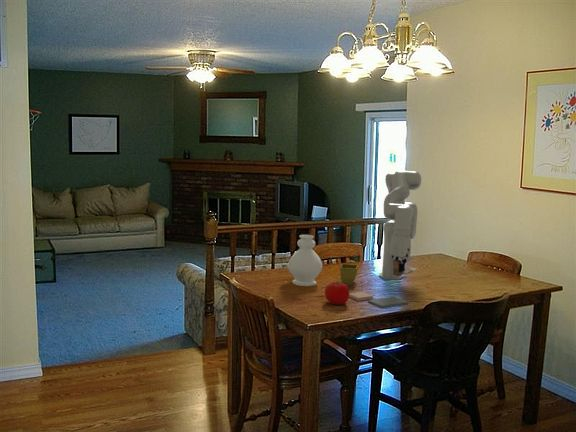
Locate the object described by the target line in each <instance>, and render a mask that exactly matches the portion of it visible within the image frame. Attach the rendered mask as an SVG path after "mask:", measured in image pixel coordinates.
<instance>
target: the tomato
mask: <svg viewBox="0 0 576 432" xmlns="http://www.w3.org/2000/svg"><path fill="white" fill-rule="evenodd" d="M349 293H350V290H349V287H348V286H347V283H344V282H338V281H333V282H330V283H329V284H327V286H326V287H325V289H324V295H325V299H326V300H327V301H328V302H329V303H330V304H334V305H336V306H337V305H338V306H340V305H343V304H345V303H347V302H348V300H349V298H350V297H349Z"/></svg>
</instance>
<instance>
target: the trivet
mask: <svg viewBox="0 0 576 432" xmlns="http://www.w3.org/2000/svg"><path fill="white" fill-rule="evenodd" d="M367 303H369V304H371V305H375V306H377V307H378V308H381V309H383V308H384V309H385V307H386V308H391V306H392V307H397V306H396V305H398V306H402V304H404V305H408V304H409V301H407V300H404V299H401V298H399V297H396V296H394V295H393V296H387V297H382V298H373V299H369V300H368V302H367ZM407 303H408V304H407Z"/></svg>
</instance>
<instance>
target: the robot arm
mask: <svg viewBox="0 0 576 432" xmlns="http://www.w3.org/2000/svg"><path fill="white" fill-rule="evenodd" d="M385 186H386V188H387V191H388V193H387V195H386V196H385V197H384V200H383V215H384V217H385V218H386V219H388V221H386V222H385V223H384V224H383V241H384V242H383V256H382V267H381V269H382V272H380V273H379V275H378V276H379V277H380V278H382V279H385V280H392V281H393V280H400V279H402V278H403V275H400V276H396V275H393V260H397V259H398V260H400V264H399V272H404V271H405V267H406V264H407V262H409V261H411V252H412V242H411V240H412V239H414V238H415V237H416V233H417V224H418V223H417V222H418V206H417V204H416V203H415V202H408V201H407V202H405V200H406V199H408V198H409V196H410V194H411V191H416V190H418V189H419V188H420V186H422V176H421V174H420V172H419V171H413V170H398V171H395V172H390V173H387V174H386V175H385Z"/></svg>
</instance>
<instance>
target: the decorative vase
mask: <svg viewBox="0 0 576 432" xmlns="http://www.w3.org/2000/svg"><path fill="white" fill-rule="evenodd" d="M299 238H300V239H298V240H297V244H296V245H297V246H298V247H299V248H298V250H296V252H294V253H293V254H292V256H290V258H289V260H288V264H287V268H288V271H289V272H290V274H291V276H293V278H294V279H293V280H291V281H292V282H291V283H292V284H293V285H295V286H303V287H313V286H316V285H317V281H316V280H315V279H316V278H317V277H318V276H319V275H320V274H321V272H322V270H323V262H322V260H321V258H320V257H319V255H318V254H317V253H316V251H314V249H313V248H314V247H315V246H316V241H315V240H314V238H315V236H314V235H312V234H300V235H299Z"/></svg>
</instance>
